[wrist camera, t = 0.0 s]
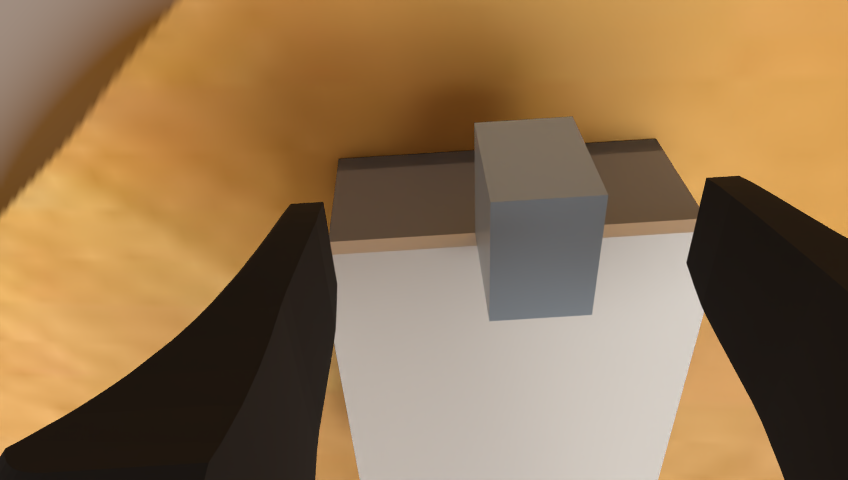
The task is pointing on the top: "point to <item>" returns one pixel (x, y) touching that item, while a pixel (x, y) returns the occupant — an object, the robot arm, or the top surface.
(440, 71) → the top surface
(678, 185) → the gray open box
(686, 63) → the top surface
